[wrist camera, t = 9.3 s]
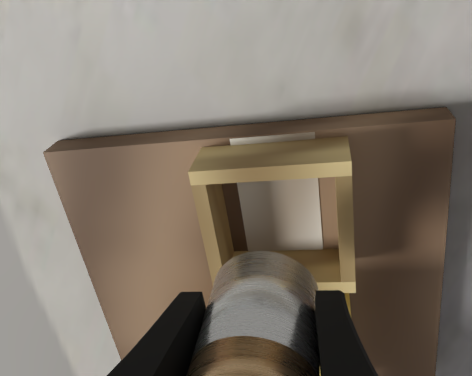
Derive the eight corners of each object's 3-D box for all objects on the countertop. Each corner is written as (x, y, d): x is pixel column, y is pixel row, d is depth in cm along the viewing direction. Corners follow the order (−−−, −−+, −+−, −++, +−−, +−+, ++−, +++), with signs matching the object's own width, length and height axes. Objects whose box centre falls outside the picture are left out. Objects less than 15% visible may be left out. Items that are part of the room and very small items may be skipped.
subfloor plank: (446, 107, 16) (474, 143, 13) (428, 367, 22) (444, 430, 19) (58, 140, 19) (13, 175, 16) (136, 360, 25) (113, 413, 22)
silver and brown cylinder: (268, 231, 12) (241, 401, 8) (341, 302, 13) (355, 492, 8) (193, 285, 13) (132, 456, 9) (262, 346, 14) (238, 530, 10)
